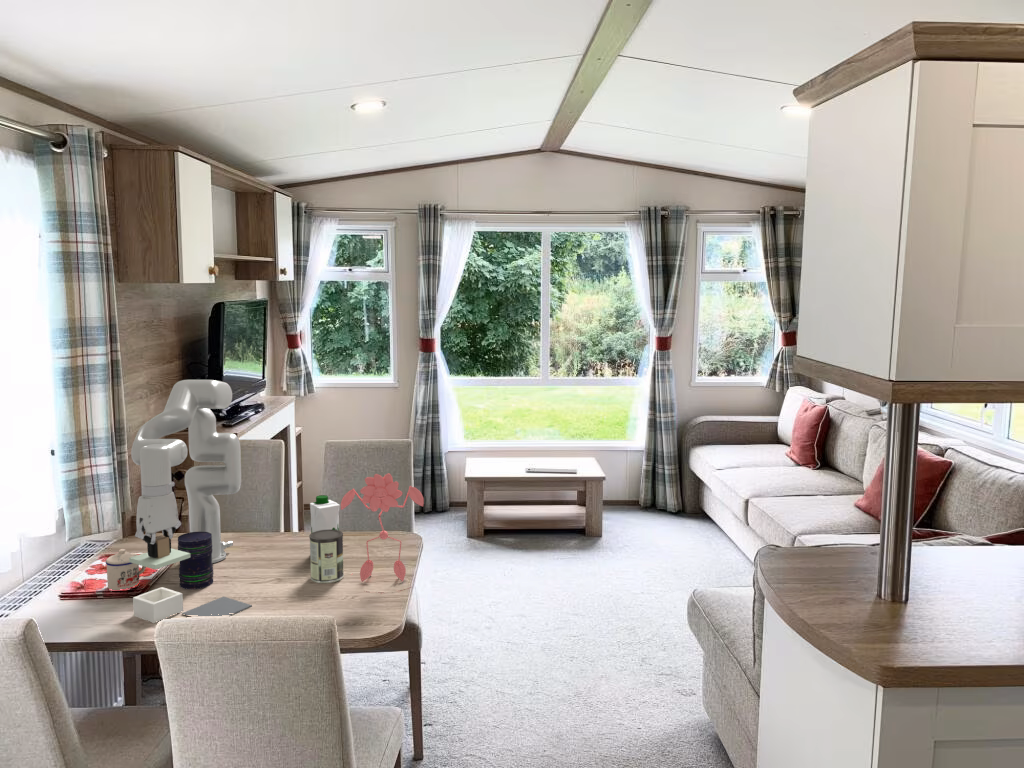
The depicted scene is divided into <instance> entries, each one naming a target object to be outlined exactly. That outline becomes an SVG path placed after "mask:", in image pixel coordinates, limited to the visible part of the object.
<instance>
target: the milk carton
mask: <svg viewBox="0 0 1024 768" xmlns="http://www.w3.org/2000/svg"><path fill="white" fill-rule="evenodd" d="M309 508H310V510H309V511H310V534H311V533H313V532H315V531H319V530H329V529H330V530H339V531H340V517H339V516H340V510H341V504H339V503H338V502H336V501H333V500H331V499H329V496H328V495H326V494H324V495H323V494H321V495H317V496H316V497H315V502H314V501H313V502H310V503H309Z"/></svg>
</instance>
